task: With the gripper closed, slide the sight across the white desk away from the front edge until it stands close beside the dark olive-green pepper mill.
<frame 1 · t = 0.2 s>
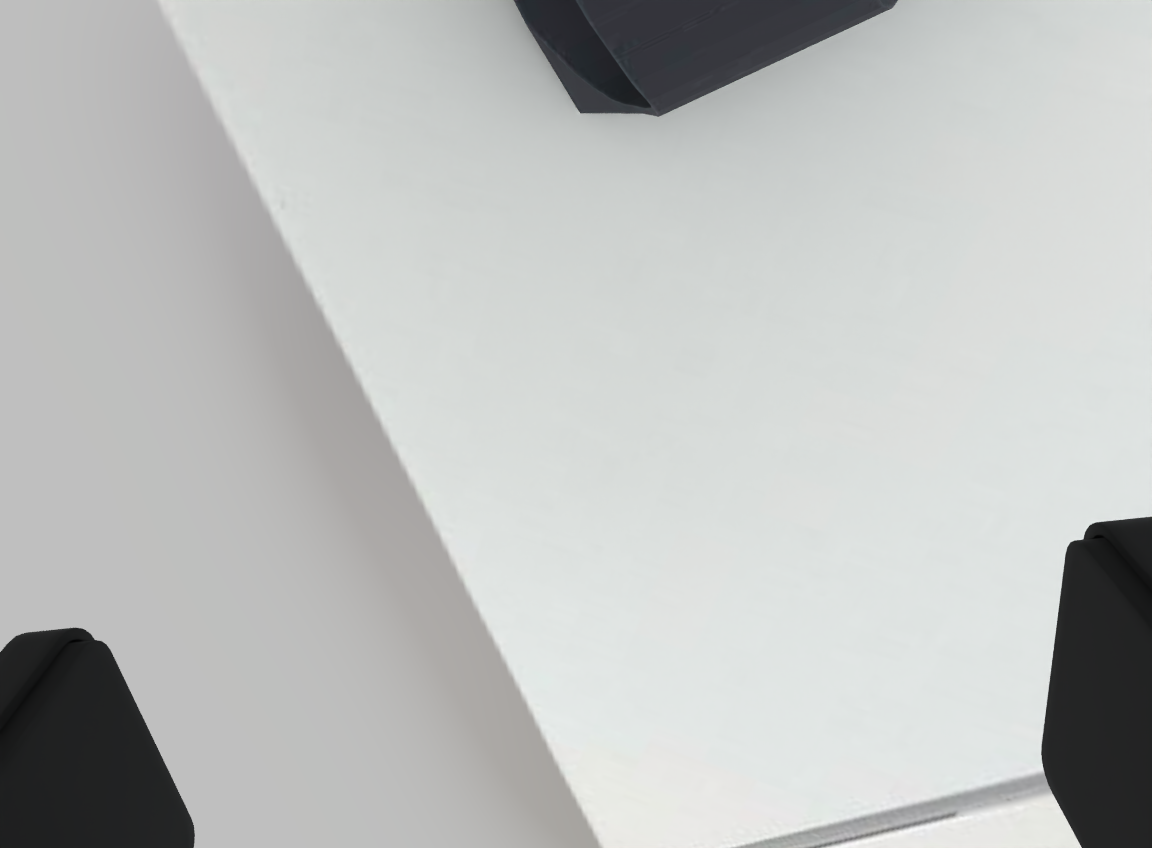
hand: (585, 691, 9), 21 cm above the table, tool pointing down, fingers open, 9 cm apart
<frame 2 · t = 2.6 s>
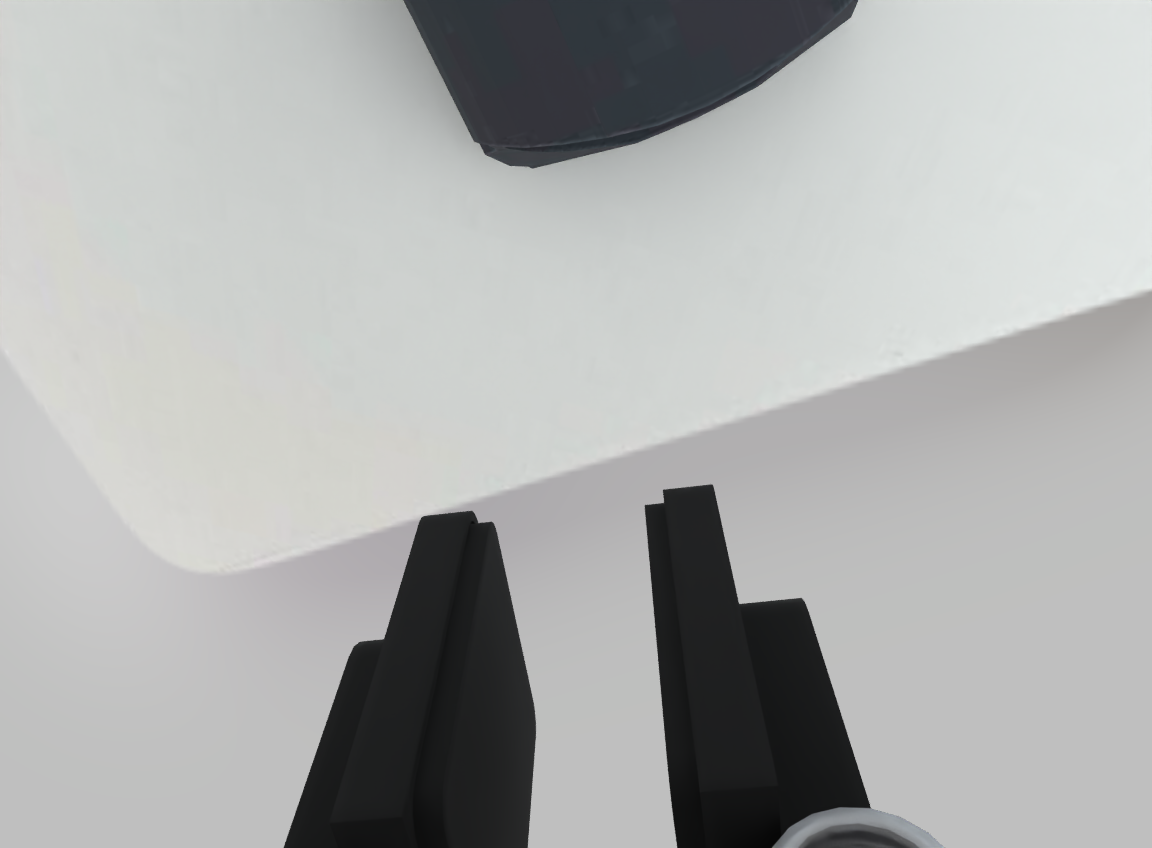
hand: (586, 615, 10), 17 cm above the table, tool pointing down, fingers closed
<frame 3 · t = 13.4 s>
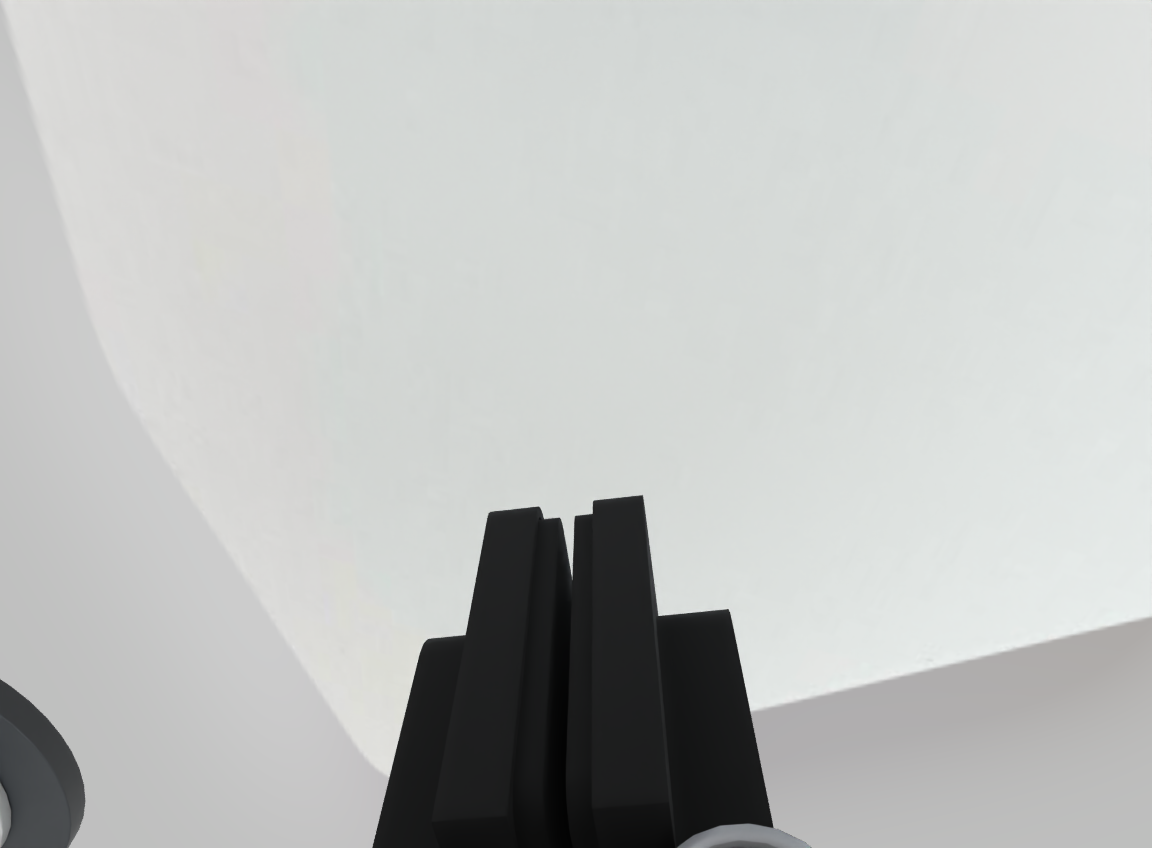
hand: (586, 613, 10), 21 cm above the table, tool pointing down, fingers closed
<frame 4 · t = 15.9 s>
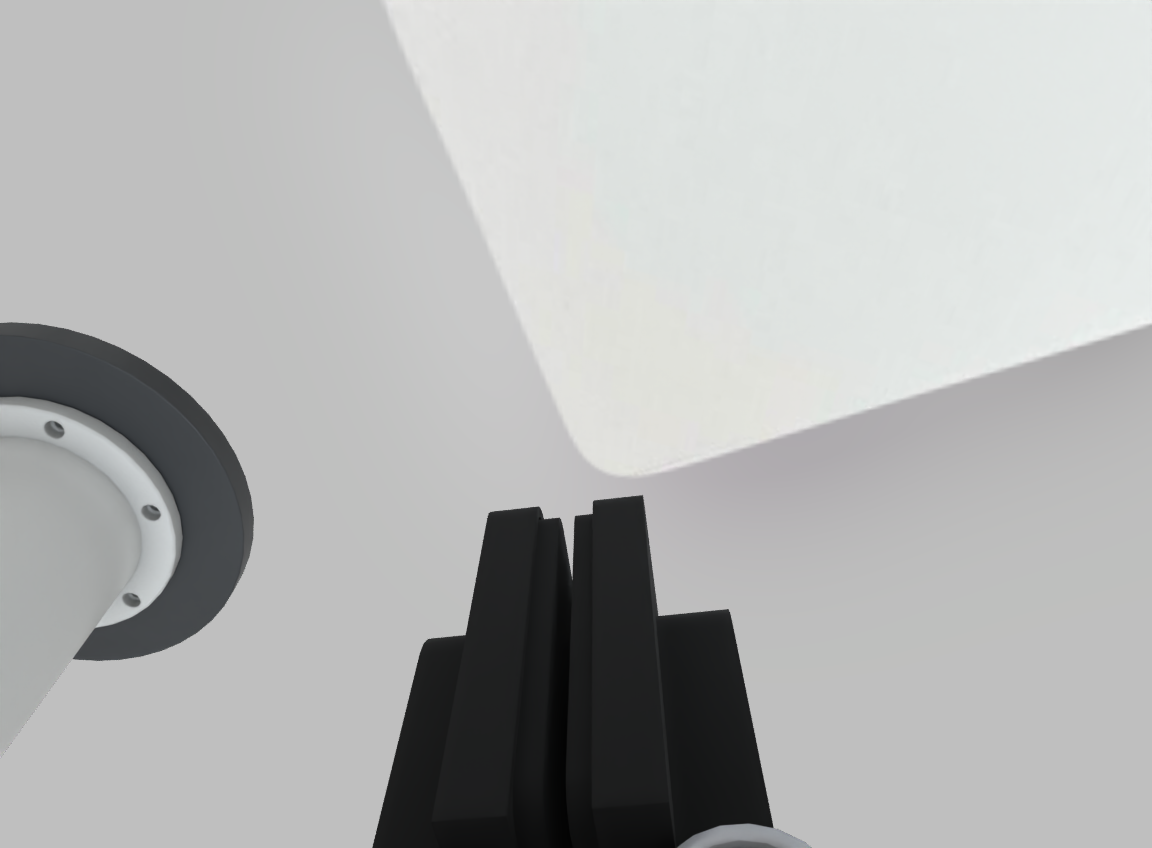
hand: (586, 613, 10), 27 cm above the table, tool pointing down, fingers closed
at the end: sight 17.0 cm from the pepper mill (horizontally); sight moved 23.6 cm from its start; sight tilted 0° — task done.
